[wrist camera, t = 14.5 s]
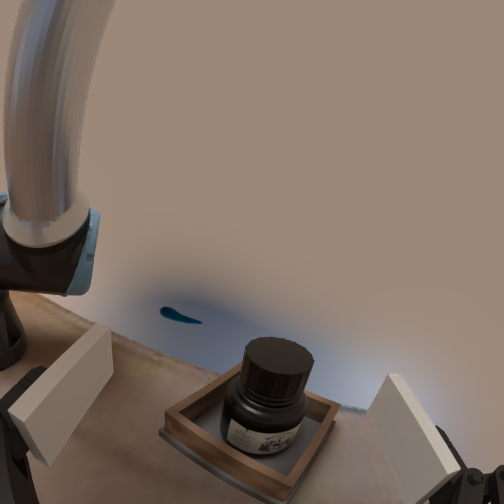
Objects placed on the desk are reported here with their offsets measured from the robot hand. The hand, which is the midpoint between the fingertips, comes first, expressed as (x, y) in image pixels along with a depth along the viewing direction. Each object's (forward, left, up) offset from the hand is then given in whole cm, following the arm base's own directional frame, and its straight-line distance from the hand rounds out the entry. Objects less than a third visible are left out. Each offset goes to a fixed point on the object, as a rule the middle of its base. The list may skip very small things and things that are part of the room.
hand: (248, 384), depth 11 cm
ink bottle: (-3, +13, -18) cm, 23 cm away
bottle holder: (-4, +13, -19) cm, 23 cm away
